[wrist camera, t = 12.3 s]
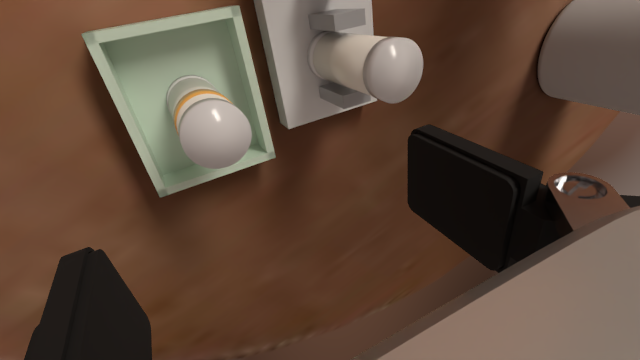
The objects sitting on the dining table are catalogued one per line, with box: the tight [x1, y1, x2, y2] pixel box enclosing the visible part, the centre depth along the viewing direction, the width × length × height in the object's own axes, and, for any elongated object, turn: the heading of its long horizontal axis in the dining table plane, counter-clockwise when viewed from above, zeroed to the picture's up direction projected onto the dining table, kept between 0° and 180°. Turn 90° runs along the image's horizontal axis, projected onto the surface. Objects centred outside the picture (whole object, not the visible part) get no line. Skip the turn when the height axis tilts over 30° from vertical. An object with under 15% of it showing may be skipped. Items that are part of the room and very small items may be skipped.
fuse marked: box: [166, 75, 252, 169], centre depth 21 cm, size 4×4×9 cm
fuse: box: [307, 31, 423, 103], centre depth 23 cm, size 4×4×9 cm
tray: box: [81, 6, 276, 198], centre depth 24 cm, size 11×9×3 cm
